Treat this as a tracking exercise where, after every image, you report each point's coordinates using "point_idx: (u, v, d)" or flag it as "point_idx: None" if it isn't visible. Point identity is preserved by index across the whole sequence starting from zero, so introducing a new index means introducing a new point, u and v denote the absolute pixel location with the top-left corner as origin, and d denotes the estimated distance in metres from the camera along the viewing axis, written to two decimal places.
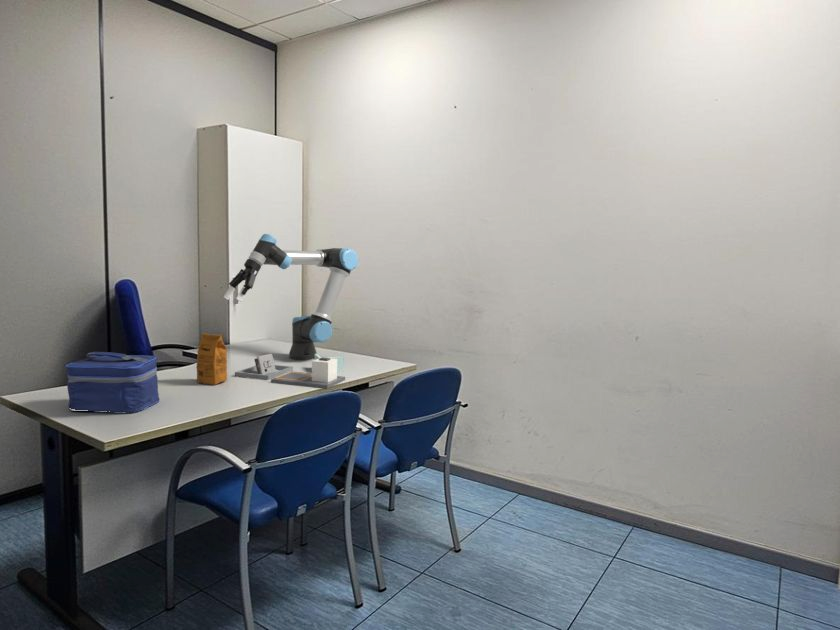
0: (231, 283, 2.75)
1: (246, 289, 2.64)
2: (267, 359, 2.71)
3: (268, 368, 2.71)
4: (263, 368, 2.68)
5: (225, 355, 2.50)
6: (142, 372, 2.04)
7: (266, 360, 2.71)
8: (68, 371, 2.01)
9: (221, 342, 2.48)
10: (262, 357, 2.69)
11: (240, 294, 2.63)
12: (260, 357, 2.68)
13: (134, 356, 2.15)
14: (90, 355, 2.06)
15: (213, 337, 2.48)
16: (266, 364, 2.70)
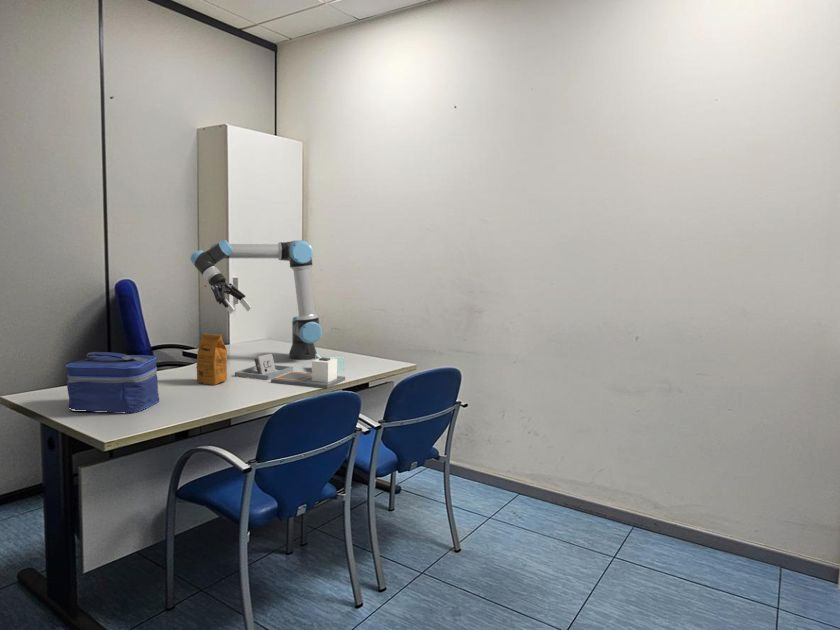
0: None
1: (222, 302, 2.64)
2: (267, 359, 2.71)
3: (268, 368, 2.71)
4: (263, 368, 2.68)
5: (225, 355, 2.50)
6: (142, 372, 2.04)
7: (266, 360, 2.71)
8: (68, 371, 2.00)
9: (221, 342, 2.48)
10: (262, 357, 2.69)
11: (227, 308, 2.65)
12: (260, 357, 2.68)
13: (134, 356, 2.15)
14: (90, 355, 2.06)
15: (213, 337, 2.48)
16: (266, 364, 2.70)
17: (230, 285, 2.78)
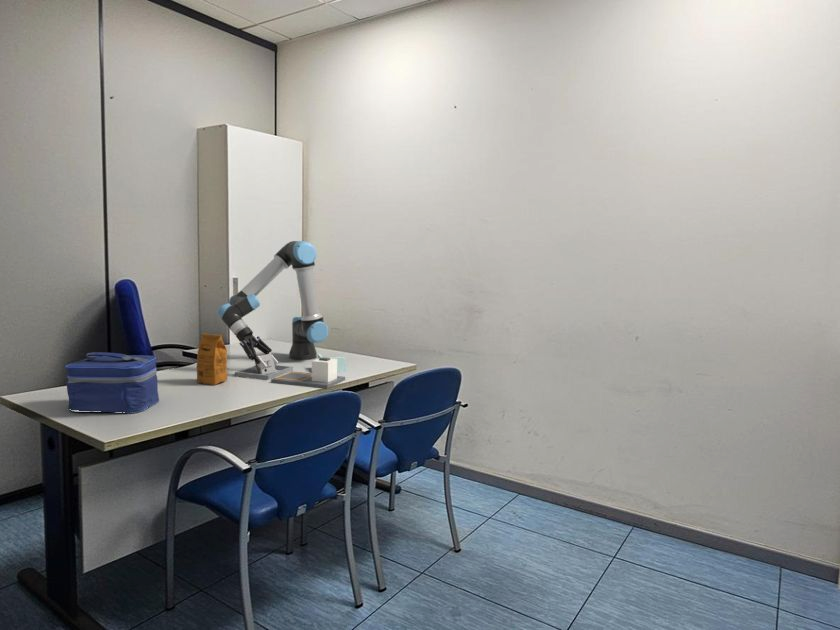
0: None
1: (255, 359, 2.65)
2: (267, 359, 2.71)
3: (268, 368, 2.70)
4: None
5: (225, 355, 2.50)
6: (143, 372, 2.04)
7: (266, 360, 2.71)
8: (68, 372, 2.00)
9: (221, 342, 2.48)
10: (262, 357, 2.69)
11: (260, 364, 2.66)
12: (260, 357, 2.68)
13: (133, 356, 2.15)
14: (90, 356, 2.05)
15: (213, 337, 2.48)
16: (266, 364, 2.70)
17: (258, 338, 2.77)
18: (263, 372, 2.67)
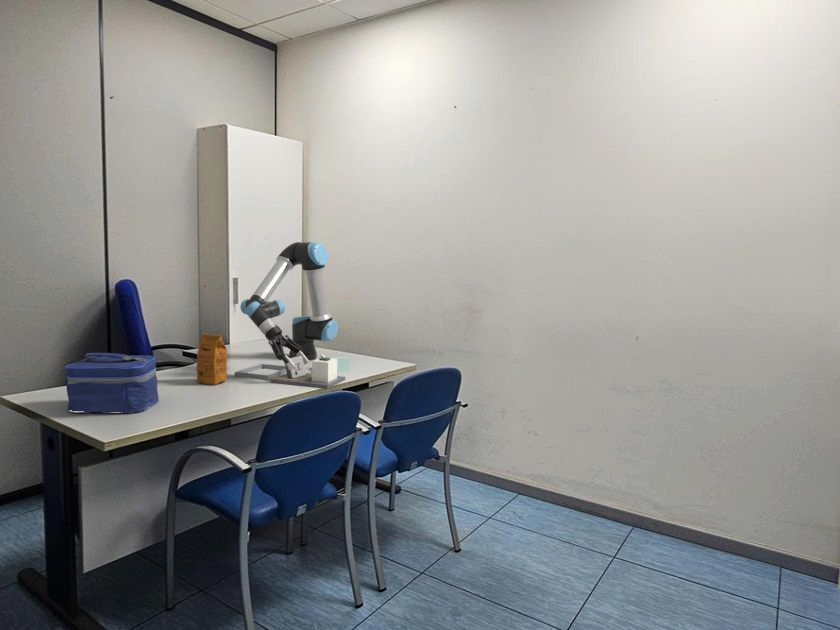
0: None
1: (282, 358, 2.52)
2: (297, 361, 2.59)
3: (298, 371, 2.59)
4: (293, 371, 2.56)
5: (225, 355, 2.50)
6: (145, 372, 2.04)
7: (297, 362, 2.59)
8: (68, 372, 1.99)
9: (221, 342, 2.48)
10: (292, 359, 2.57)
11: (288, 364, 2.53)
12: (290, 359, 2.56)
13: (132, 356, 2.15)
14: (89, 356, 2.04)
15: (213, 337, 2.48)
16: (296, 367, 2.58)
17: (286, 337, 2.66)
18: (294, 375, 2.56)
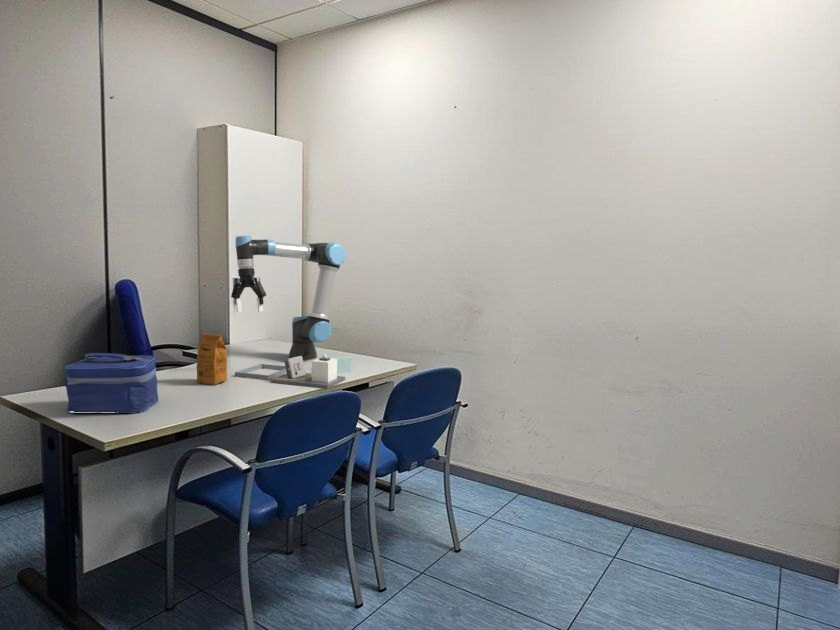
0: (234, 296, 2.76)
1: (262, 299, 2.70)
2: (297, 361, 2.59)
3: (298, 371, 2.59)
4: (293, 371, 2.56)
5: (225, 355, 2.50)
6: (146, 372, 2.04)
7: (297, 362, 2.59)
8: (68, 373, 1.98)
9: (221, 342, 2.48)
10: (292, 359, 2.57)
11: (259, 306, 2.70)
12: (290, 359, 2.56)
13: (132, 356, 2.15)
14: (89, 357, 2.04)
15: (213, 337, 2.48)
16: (296, 367, 2.58)
17: None
18: (294, 375, 2.56)
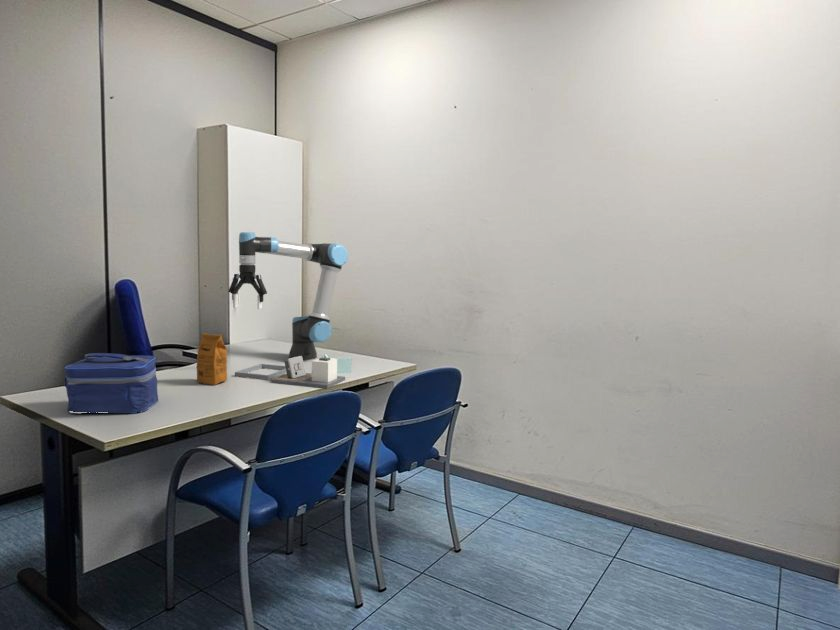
0: (232, 291, 2.76)
1: (262, 296, 2.72)
2: (297, 361, 2.59)
3: (298, 371, 2.59)
4: (293, 371, 2.56)
5: (225, 355, 2.50)
6: (147, 372, 2.04)
7: (297, 362, 2.59)
8: (68, 373, 1.97)
9: (221, 342, 2.48)
10: (292, 359, 2.57)
11: (259, 303, 2.73)
12: (290, 359, 2.56)
13: (131, 356, 2.15)
14: (89, 357, 2.03)
15: (213, 337, 2.48)
16: (296, 367, 2.58)
17: None
18: (294, 375, 2.56)
